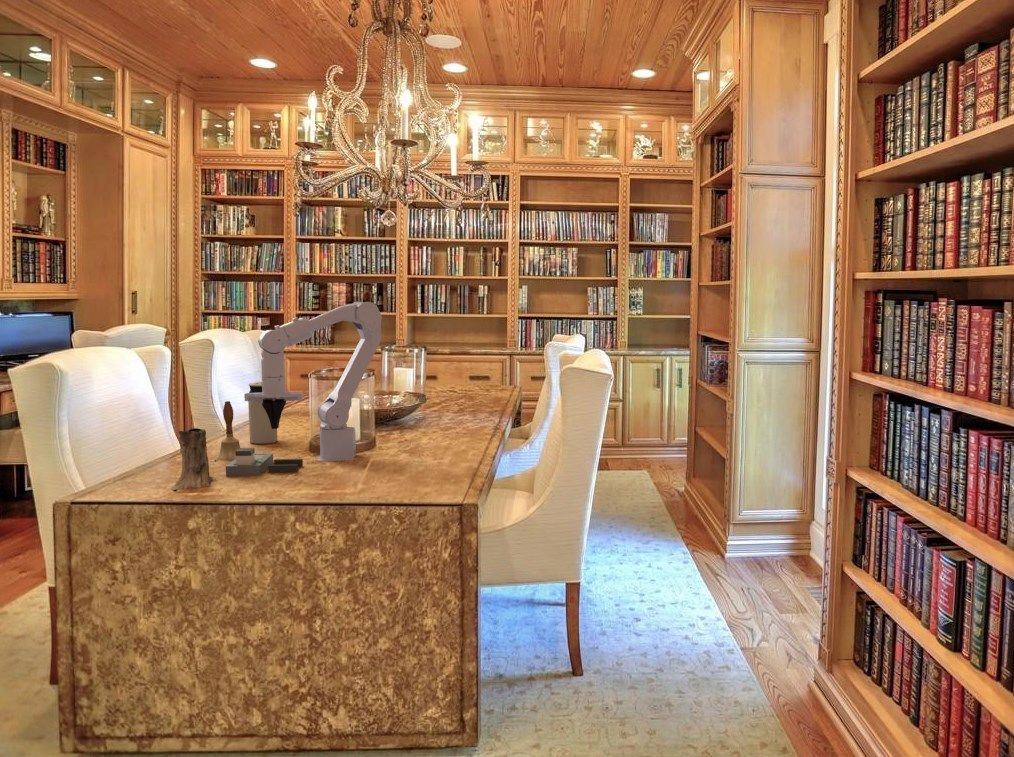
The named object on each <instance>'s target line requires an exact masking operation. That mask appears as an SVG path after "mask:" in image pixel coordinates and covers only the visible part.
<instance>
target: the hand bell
mask: <svg viewBox="0 0 1014 757" xmlns="http://www.w3.org/2000/svg"><path fill="white" fill-rule="evenodd" d="M222 415H223V420H224V423H225V434H226V436H225V438H223V439H222V440H221V444H220V449H219V452H218V454H217V455H216V457H215V458H214V461H215V460H216V461H217V462H218V461H233V460H234V459H236V450H238V449H239V448H241V445H240V440H239V439H238V438H236V437H234V431H233V421H234V408H233V406H232V404H231V401H229V400H228V401H224V405H223V409H222ZM216 461H215V462H216Z"/></svg>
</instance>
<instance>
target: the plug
mask: <svg viewBox="0 0 1014 757" xmlns="http://www.w3.org/2000/svg"><path fill="white" fill-rule="evenodd" d="M255 453H256V452H255V447H240V448H239V449H238V450H236V465H255V456H254V454H255Z"/></svg>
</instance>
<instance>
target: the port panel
mask: <svg viewBox="0 0 1014 757" xmlns="http://www.w3.org/2000/svg"><path fill="white" fill-rule="evenodd" d="M254 456H255V465H236V459H234V460H231V462H229V463H227V465H225V476H226V477H250V476H251V477H252V476H255V477H258V476H261V475H262V474H263V473H264V472H265V471H266V470H268V465H273V464H274V453H273V452H271V453H270V452H269V453H268V452H267V453H265V452H263V453H260V452H259V453H256V452H255V453H254Z"/></svg>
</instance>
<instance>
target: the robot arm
mask: <svg viewBox="0 0 1014 757" xmlns="http://www.w3.org/2000/svg"><path fill="white" fill-rule="evenodd" d="M382 319H383V316H382V313H381V312H380V309H379V308H378V306H377V305H376V304H375V303H374V302H371V301H364V302H363V301H355V302H353V303H348V304H347V303H346V304H343V305H340V306H338V307H336V308H333V309H330V310H328V311H326V312H324V313H322V314H319V315H317V316H315V317H312V318H311V319H306V318H303V317H299V318H298V317H297V316H296V317H294V318H292V319H291V320H292V321H290V322H287V323H284V324H281V325H280V324H277V325H274V329H267V330H264V331H263V332H262V333H261V334H260V336H259V339H258V341H257V342H258V345H259V347H260V348H261V354H260V355H261V359H260V364H261V365H260V366H261V367H260V368H261V382H262V392H259V393H249V392H246V393H244V394H243V395H244V396H243V397H244V402H248V401H263V403H262V406H263V408H264V409H265V411H266V413H267V415H268V417H269V420H270V423H271V428H272V429H277V430H278V429H279V427H280V421H281V416H282V413H283V410H284V408H285V406H286V403H287V401H298V402H301V401H303V400H304V392H295V391H294V392H293V391H286V369H285V366H286V365H285V358H284V357H285V356H284V353H285V352H284V350H285V348H286V347H288V348H289V347H291V346H293V345H296V344H298V343H302V342H303V341H306V340H309V339H310V338H312V335H313V333H314V332H315V331H318V330H320V329H321V330H322V329H323V328H326V327H328V326H332V325H334V324H337V323H340V322H351V323H352V325H354V327H355V328H356V330H357V332H358V335H359V338H360V339H359V342H358V343H357V345H356V348H355V350H353V352H352V353H353V354H352V355H351V356H350V359H349V361H348V363H347V364H346V366H345V369H344V371H343V373H342V374H341V376H340V378H339V380H338V382H337V384H336V386H335V388H334V389H333V391H331V392H330V393H329V395H328V396H327V398H326V399H325V400H324V401H323V402H322V403H321V404H319V406H318V409H317V416H318V418H319V420H320V421H321V423H320V424H319V448H320V449H319V451H320V452H319V453H320V454H319V457H318V458H317V460H316V461H317V462H324V461H326V462H327V461H328V462H332V461H333V462H334V461H336V462H337V461H338V462H339V461H340V462H341V461H353V460H354V459H355V457H356V456H357V448H356V446H357V445H356V444H357V442H356V441H357V440H356V439H357V438H356V428H355V427H352V426H348V424H347V423H348V421H349V417H350V416H349V415H350V410H351V407H352V401H353V400H352V399H353V396H354V394H355V392H356V390H357V388H358V387H359V385H360V383H361V381H362V378H363V377H364V375H365V373H366V372H367V369H368V367H369V366H370V363H371V361H372V359H373V358H374V355H375V353H376V352H377V350H378V347H379V345H380V344H381V341H382Z"/></svg>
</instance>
